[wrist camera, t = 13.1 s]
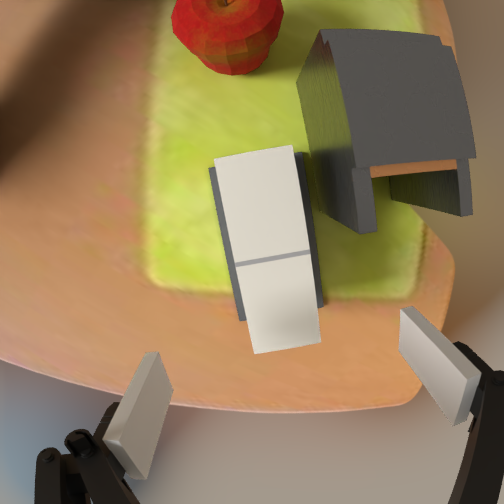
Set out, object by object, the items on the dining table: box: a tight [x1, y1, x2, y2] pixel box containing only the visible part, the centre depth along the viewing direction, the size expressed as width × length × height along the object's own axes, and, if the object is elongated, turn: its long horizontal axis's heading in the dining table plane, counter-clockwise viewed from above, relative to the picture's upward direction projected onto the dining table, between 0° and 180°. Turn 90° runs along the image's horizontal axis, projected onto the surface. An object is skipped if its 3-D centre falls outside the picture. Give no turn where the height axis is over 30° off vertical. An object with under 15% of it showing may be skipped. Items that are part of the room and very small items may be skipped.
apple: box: [171, 0, 284, 75], centre depth 20 cm, size 9×8×12 cm
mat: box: [209, 152, 324, 321], centre depth 31 cm, size 9×16×1 cm, turn 10°
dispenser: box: [296, 29, 476, 234], centre depth 22 cm, size 9×13×13 cm
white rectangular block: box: [214, 145, 321, 354], centre depth 25 cm, size 5×14×10 cm, turn 11°
